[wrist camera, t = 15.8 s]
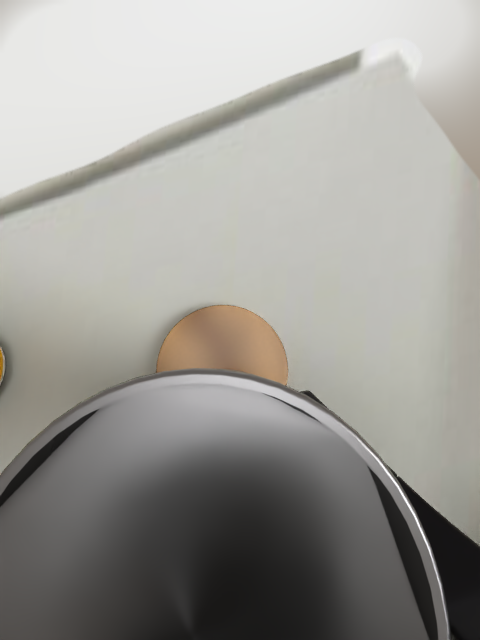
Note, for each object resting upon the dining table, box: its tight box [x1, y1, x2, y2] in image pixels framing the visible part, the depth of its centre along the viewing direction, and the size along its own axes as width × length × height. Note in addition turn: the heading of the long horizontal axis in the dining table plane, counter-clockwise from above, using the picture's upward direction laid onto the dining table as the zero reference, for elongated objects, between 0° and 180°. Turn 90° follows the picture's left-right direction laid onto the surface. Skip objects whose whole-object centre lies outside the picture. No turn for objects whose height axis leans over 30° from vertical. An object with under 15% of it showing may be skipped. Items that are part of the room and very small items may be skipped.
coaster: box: [156, 305, 288, 386], centre depth 18 cm, size 8×8×1 cm
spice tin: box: [0, 368, 451, 640], centre depth 8 cm, size 6×6×11 cm
